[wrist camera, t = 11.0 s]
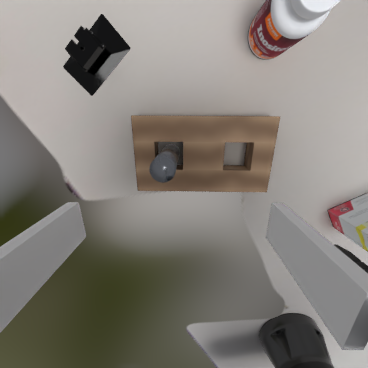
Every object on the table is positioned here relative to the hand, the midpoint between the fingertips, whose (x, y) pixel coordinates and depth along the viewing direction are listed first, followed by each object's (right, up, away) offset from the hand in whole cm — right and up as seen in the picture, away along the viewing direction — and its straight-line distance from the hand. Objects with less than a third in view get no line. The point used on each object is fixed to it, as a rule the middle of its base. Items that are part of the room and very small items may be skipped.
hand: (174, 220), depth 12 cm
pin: (-2, +8, +19) cm, 21 cm away
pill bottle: (+13, +24, +13) cm, 30 cm away
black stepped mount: (-13, +22, +15) cm, 30 cm away
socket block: (+4, +8, +19) cm, 21 cm away
